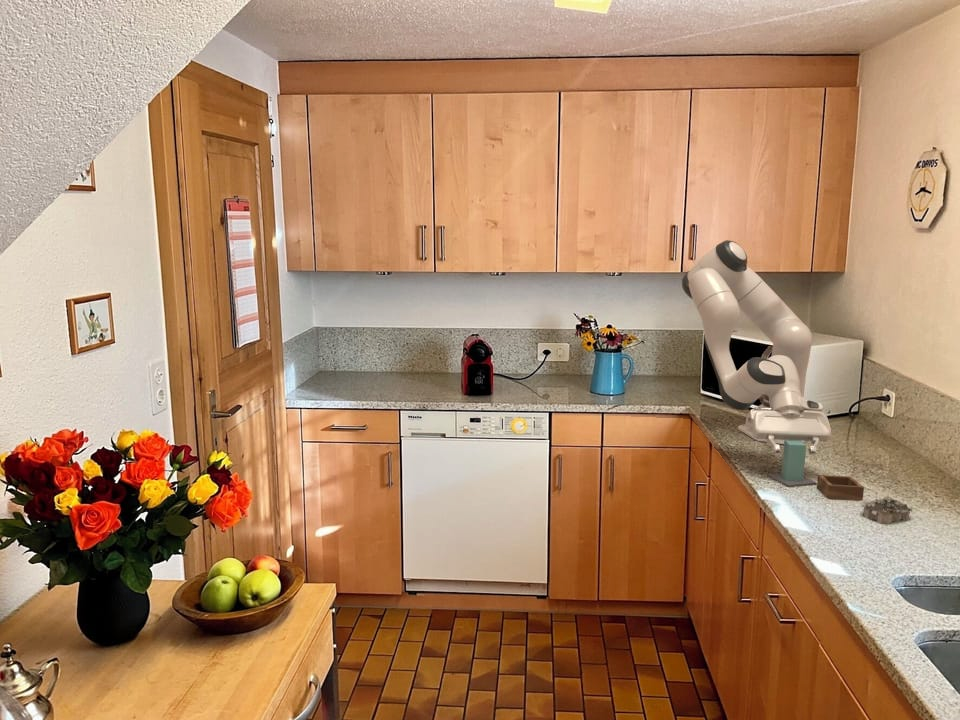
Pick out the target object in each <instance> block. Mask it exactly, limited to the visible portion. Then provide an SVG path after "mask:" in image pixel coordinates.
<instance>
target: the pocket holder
mask: <svg viewBox="0 0 960 720" xmlns="http://www.w3.org/2000/svg"><path fill="white" fill-rule="evenodd" d="M816 488H817V489H818V490H819V491H820V493H821V494H823V496H825V497H826V498H827V499H828V500H840V501H841V500H842V501H843V500H844V501H845V500H846V501H858V500H863V501H864V490H865V487H864V486H863V485H862V484H861V483H860V482H858V481H857V480H856V479H855V478H854V477H852V476H850V475H849V476H847V475H846V476H844V475H827V474H817V485H816Z"/></svg>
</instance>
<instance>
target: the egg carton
mask: <svg viewBox="0 0 960 720" xmlns="http://www.w3.org/2000/svg"><path fill="white" fill-rule="evenodd" d="M861 508H863V512H862V515H863V514H864V515H863V516H865V517H867V518H866V519H871V518H874V519H873V520H876V519H877V520H876V522H877V523H878V522H879V524H884V523H886V525H892V522H896V523H899V522H901V520H907V521H909V520H910V514H911V513H912V512H913V510H914V507H912V506H911V507H909V506H908V505H907V503H903V502H901V501H900V500H898V499H896V500H895V499H894V498H892V497H891V496H889V495H887V496H885V497H883V498H879V499H878V498H875V499H874V500H870V501H864V500H863V501H862V503H861ZM883 509H884V510H883ZM865 517H864V518H865Z"/></svg>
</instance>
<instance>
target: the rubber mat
mask: <svg viewBox="0 0 960 720" xmlns="http://www.w3.org/2000/svg"><path fill="white" fill-rule="evenodd" d="M765 475H766V476H767V477H766V476H765V477H766V478H768V477H769V478H768V479H770V478H771V479H770V480H773V481H775V480H776V481H775V482H777V481H778V482H777V483H779V482H780V483H779V484H781V483H782V484H781V485H783V486H784V487H787V486H788V487H787V488H796V487H797V488H798V487H805V486H807V485H808V486H817V482H816V481H815V480H812V479H810V478H808V477H806V476H804V475H803V482H802V481H786V480H785V479H784V478H783V477H782V476H781V472H777V473H767V474H765ZM795 486H796V487H795Z"/></svg>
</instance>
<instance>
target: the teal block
mask: <svg viewBox="0 0 960 720" xmlns="http://www.w3.org/2000/svg"><path fill="white" fill-rule="evenodd" d="M806 454H807V444H805V442H804V443H803V442H802V441H793V440H784V444H783V451H782V462H781V471H780V473H781V476H782V477H783V478H784V479H785V480H786V481H802V482H803V476H804V475H805V474H804V473H805V463H806Z"/></svg>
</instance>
